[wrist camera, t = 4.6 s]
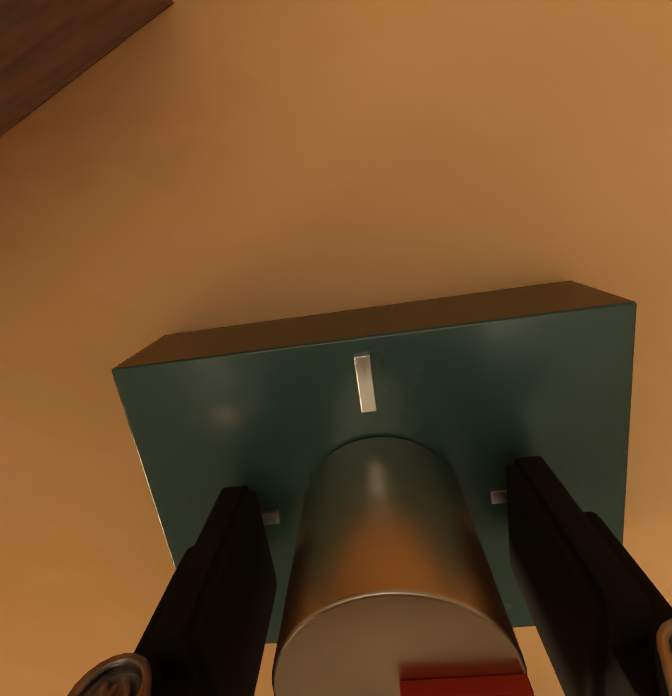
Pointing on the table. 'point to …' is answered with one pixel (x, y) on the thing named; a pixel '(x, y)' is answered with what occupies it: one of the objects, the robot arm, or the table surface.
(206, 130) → the table surface
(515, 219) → the table surface
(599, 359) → the dial panel
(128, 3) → the tissue box cover
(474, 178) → the table surface
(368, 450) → the knob
